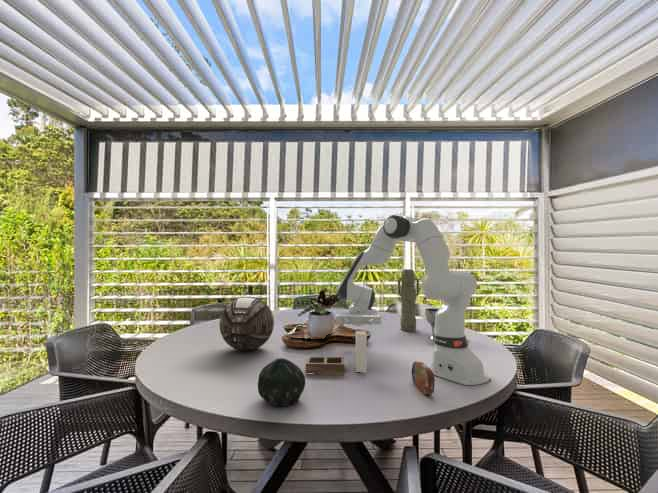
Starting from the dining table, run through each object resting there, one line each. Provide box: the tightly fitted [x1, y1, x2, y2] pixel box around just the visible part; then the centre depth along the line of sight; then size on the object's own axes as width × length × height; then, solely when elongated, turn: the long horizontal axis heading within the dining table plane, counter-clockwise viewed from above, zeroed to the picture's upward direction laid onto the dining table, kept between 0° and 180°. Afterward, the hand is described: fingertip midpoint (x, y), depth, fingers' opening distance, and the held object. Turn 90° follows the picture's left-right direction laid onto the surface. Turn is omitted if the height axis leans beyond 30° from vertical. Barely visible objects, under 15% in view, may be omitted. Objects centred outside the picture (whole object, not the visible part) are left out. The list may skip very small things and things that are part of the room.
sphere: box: [219, 296, 275, 352], centre depth 170 cm, size 25×25×25 cm
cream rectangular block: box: [355, 330, 368, 373], centre depth 141 cm, size 5×4×15 cm
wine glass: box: [424, 307, 439, 341], centre depth 191 cm, size 8×8×15 cm
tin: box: [411, 361, 436, 395], centre depth 123 cm, size 15×3×8 cm, turn 7°
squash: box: [257, 357, 306, 407], centre depth 114 cm, size 14×15×15 cm
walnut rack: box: [305, 356, 345, 375], centre depth 142 cm, size 9×15×4 cm, turn 88°
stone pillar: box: [397, 268, 420, 333], centre depth 209 cm, size 9×12×35 cm
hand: (359, 322), depth 154 cm, fingers open, 8 cm apart
